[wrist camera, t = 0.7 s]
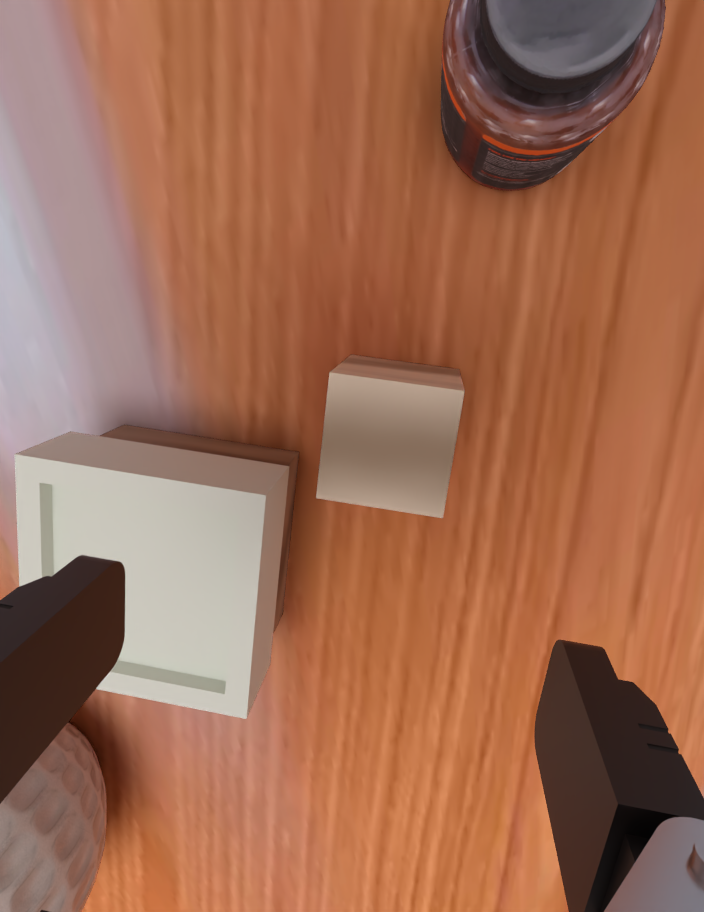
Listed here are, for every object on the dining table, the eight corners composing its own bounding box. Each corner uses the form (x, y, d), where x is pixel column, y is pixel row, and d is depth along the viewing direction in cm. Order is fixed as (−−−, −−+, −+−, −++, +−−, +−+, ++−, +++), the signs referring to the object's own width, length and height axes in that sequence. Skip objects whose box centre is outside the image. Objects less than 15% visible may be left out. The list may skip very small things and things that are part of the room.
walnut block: (127, 423, 31) (84, 442, 27) (300, 450, 30) (281, 473, 27) (124, 581, 34) (84, 619, 30) (284, 610, 33) (264, 653, 29)
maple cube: (351, 354, 28) (329, 372, 23) (459, 369, 28) (464, 391, 22) (339, 457, 30) (315, 498, 24) (441, 472, 29) (442, 518, 24)
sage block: (70, 431, 27) (14, 454, 24) (289, 466, 26) (266, 495, 23) (72, 627, 30) (22, 674, 27) (270, 664, 29) (246, 718, 26)
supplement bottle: (610, 154, 25) (744, 54, 14) (470, 217, 26) (494, 171, 15) (563, -1, 24) (670, -240, 13) (418, 74, 25) (405, -85, 14)
